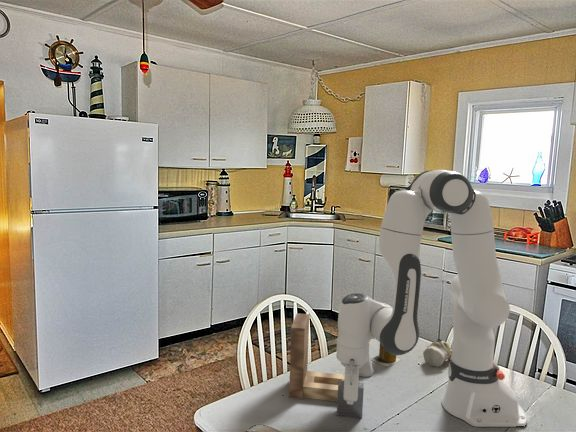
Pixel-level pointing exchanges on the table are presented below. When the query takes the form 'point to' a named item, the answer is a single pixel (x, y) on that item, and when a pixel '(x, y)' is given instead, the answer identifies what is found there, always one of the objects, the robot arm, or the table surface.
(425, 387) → the table surface
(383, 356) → the condiment
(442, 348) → the ceramic sculpture
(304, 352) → the tan slotted wooden fixture
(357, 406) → the brushed steel bar
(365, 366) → the flask
